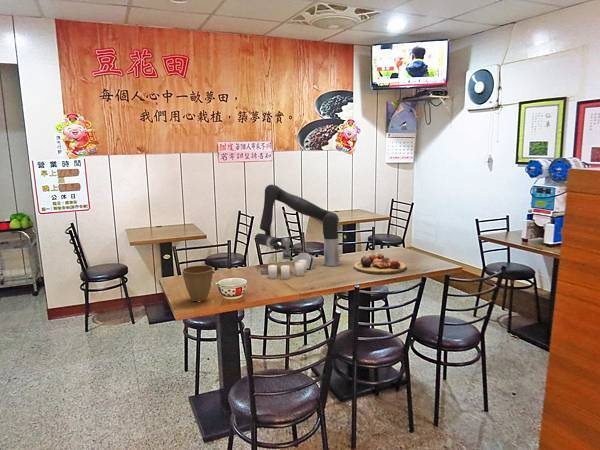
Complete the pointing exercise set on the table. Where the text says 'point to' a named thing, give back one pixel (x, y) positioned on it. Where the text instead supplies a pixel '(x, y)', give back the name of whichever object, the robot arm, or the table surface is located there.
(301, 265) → the spacer
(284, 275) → the spacer
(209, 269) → the plant pot
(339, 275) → the table surface
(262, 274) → the mat
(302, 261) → the spacer
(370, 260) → the wooden plate with food
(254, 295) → the table surface
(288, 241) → the bushing
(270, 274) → the cylinder
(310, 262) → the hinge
